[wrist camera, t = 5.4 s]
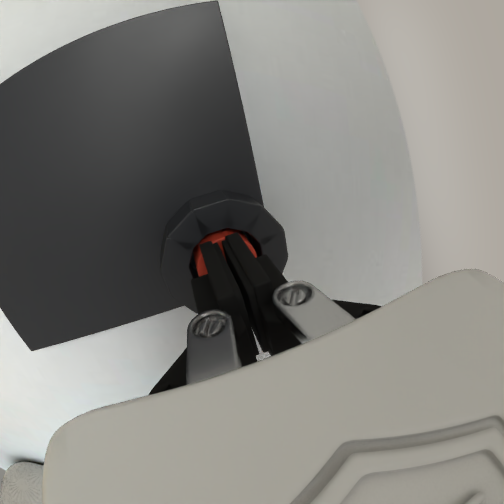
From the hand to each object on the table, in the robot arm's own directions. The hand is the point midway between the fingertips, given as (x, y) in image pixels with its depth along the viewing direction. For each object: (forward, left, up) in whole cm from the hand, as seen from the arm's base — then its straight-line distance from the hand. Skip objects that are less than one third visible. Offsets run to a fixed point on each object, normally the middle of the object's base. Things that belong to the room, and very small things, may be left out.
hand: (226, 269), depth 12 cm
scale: (+5, -5, -3) cm, 8 cm away
